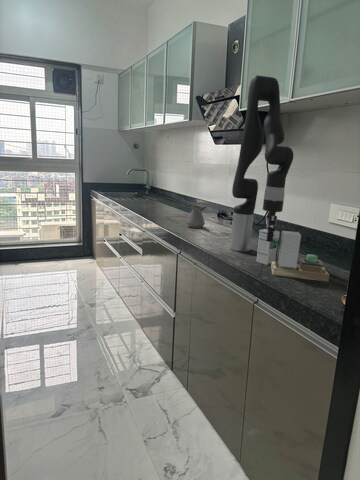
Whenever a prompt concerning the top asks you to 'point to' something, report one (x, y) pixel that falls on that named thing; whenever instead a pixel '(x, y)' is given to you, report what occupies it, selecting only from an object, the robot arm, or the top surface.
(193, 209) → the coffee pot
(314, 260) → the button
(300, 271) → the wooden tray
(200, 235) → the top surface
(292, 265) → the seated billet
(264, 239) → the syrup box
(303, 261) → the dark grey square block
